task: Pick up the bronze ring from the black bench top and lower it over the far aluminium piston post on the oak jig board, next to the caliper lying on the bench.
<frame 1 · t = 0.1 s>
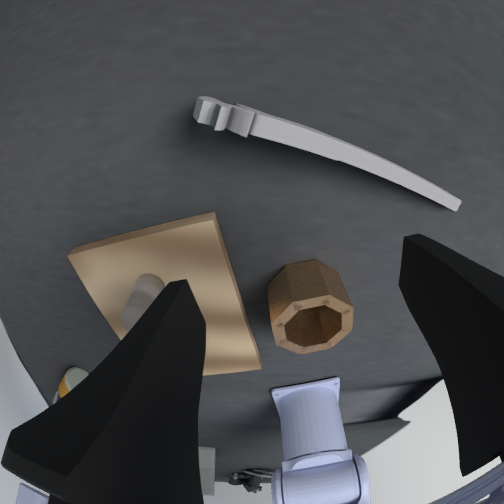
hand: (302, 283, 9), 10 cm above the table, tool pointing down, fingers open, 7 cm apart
bicycle component: (261, 471, 57), on the table
piston block: (173, 312, 23), on the table
barrier: (146, 441, 44), on the table
ring: (304, 290, 22), on the table
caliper: (358, 153, 17), on the table
spray gun: (110, 394, 33), on the table
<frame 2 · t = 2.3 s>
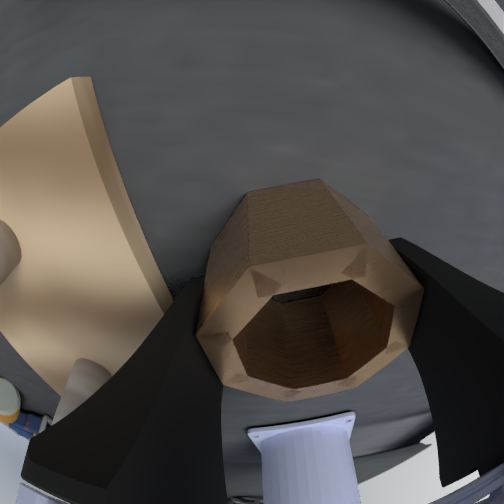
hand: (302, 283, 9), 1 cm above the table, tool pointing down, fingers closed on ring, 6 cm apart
bicycle component: (253, 497, 45), on the table
piston block: (59, 300, 11), on the table
ring: (295, 258, 10), on the table, touching gripper
spray gun: (48, 412, 21), on the table
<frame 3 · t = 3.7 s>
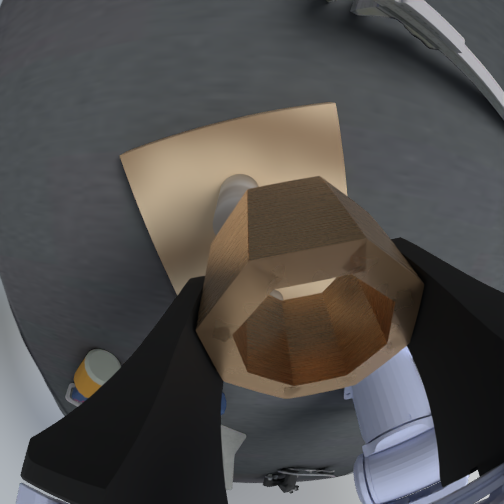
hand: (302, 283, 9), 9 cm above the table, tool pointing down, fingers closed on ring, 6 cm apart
bicycle component: (296, 469, 53), on the table
piston block: (254, 243, 19), on the table
barrier: (172, 440, 39), on the table
ring: (296, 255, 10), point 8 cm above the table, touching gripper
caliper: (453, 71, 12), on the table
spray gun: (139, 384, 29), on the table
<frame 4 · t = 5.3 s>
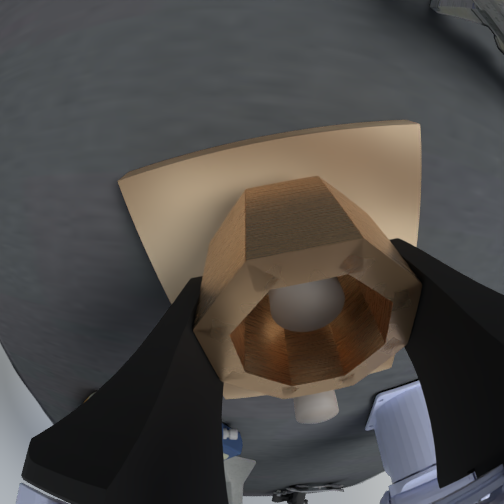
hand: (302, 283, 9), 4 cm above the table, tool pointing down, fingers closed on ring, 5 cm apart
bicycle component: (305, 485, 49), on the table
piston block: (296, 292, 15), on the table
barrier: (179, 465, 35), on the table
ring: (294, 255, 10), point 3 cm above the table, touching gripper
spray gun: (146, 421, 25), on the table
when the fingers open (4 cm above the table, at t = 5.7 s): ring drops 1 cm, resting on piston block.
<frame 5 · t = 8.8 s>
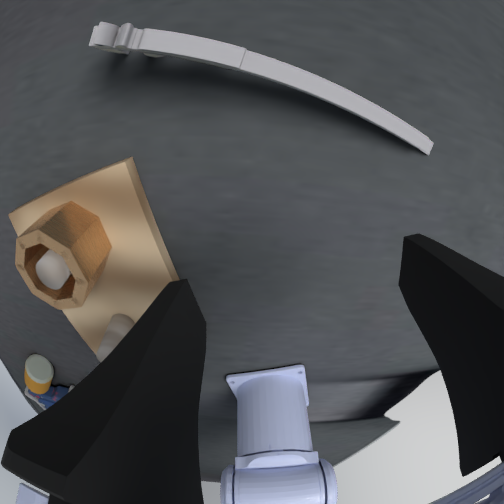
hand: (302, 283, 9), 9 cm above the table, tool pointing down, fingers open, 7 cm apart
piston block: (106, 276, 20), on the table
ring: (75, 240, 17), point 1 cm above the table, touching piston block
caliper: (292, 82, 14), on the table
spray gun: (74, 384, 31), on the table
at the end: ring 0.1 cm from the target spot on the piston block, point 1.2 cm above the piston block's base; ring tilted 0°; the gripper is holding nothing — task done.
